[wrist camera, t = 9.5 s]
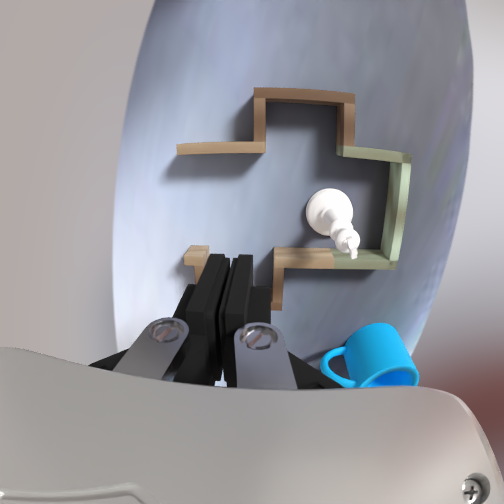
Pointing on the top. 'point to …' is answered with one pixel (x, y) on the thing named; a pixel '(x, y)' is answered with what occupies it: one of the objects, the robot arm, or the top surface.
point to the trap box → (344, 147)
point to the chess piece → (333, 219)
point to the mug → (374, 359)
